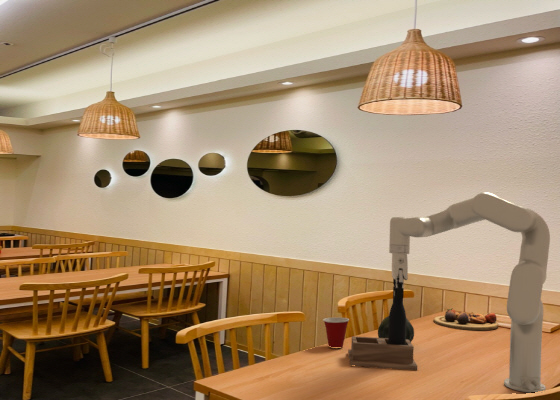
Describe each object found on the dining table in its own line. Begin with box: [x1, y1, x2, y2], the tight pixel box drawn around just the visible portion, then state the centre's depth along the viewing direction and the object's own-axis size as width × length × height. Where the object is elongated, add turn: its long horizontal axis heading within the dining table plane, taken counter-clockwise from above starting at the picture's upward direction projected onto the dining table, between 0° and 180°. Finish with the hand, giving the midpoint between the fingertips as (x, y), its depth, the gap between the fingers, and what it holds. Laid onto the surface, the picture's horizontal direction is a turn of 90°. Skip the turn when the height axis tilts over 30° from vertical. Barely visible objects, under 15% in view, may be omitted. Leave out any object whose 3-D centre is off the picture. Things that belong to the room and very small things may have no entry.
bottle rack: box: [347, 336, 418, 371], centre depth 201 cm, size 18×24×8 cm
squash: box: [377, 315, 415, 343], centre depth 226 cm, size 14×15×15 cm
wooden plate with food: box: [433, 308, 499, 331], centre depth 278 cm, size 32×32×8 cm
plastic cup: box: [322, 317, 350, 348], centre depth 219 cm, size 11×11×12 cm
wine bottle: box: [388, 276, 407, 345], centre depth 201 cm, size 6×6×30 cm
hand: (398, 297), depth 201 cm, fingers closed on wine bottle, 3 cm apart
